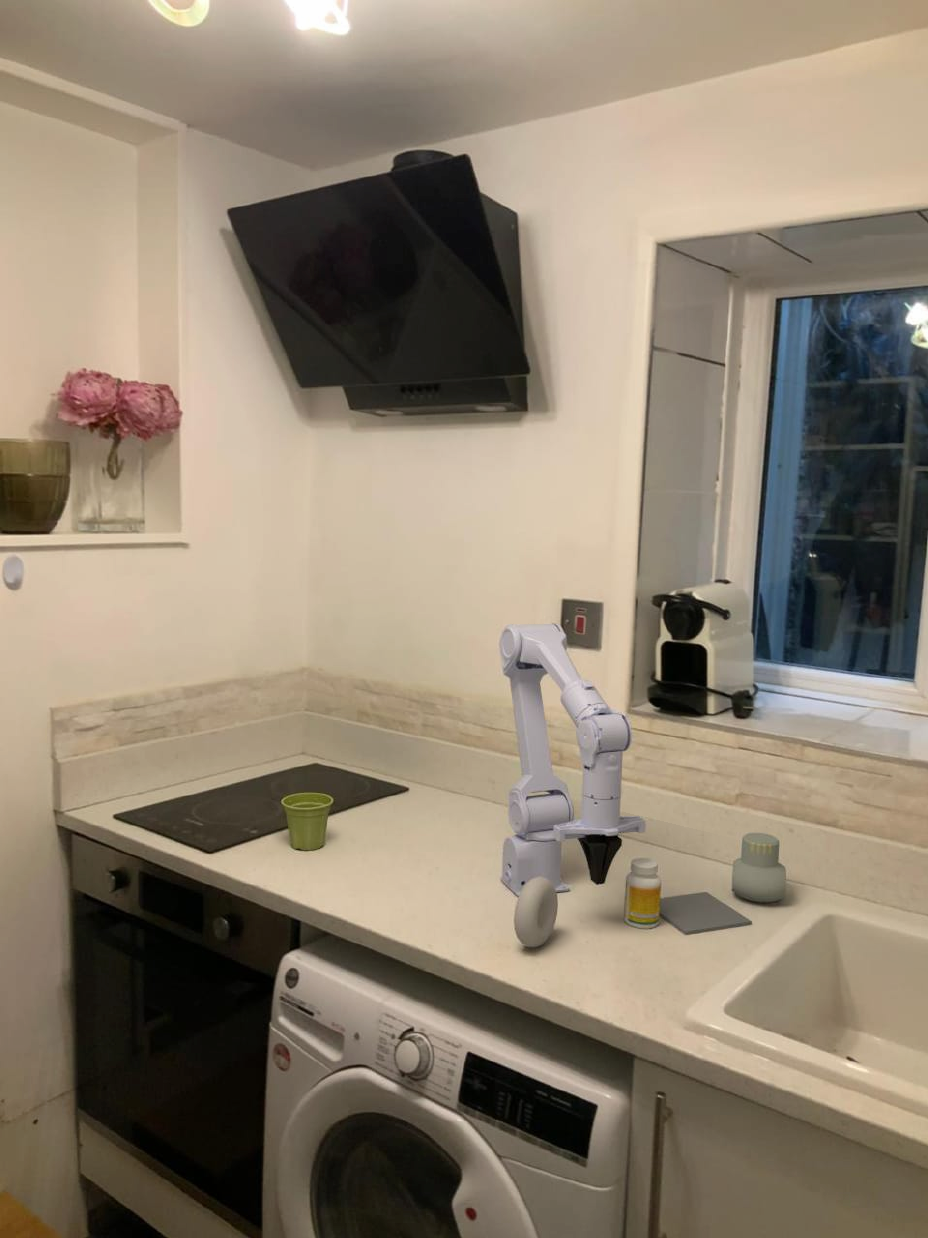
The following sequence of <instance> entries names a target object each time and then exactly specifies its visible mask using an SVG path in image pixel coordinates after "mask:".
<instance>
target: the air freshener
mask: <svg viewBox="0 0 928 1238" xmlns="http://www.w3.org/2000/svg"><path fill="white" fill-rule="evenodd" d="M741 840H742V841H741V854H740V857H738V858H736V859H734V860H733V862H732V873H731V875H732V876H731V877H732V878H731V892H733V893H734V894H736V895H737V896H739V897H740V898H742V899H745V900H747V901H750V902H754V903H764V904H765V903H773V902H777V901H780V900H782V899H784V898H785V897H786V892H787V891H786V890H787V871H786V870H787V869H786V866H785V865H783V864H782V863H780V862H779V859H780V858H779V857H780V840H779V839H778V838H777V837H776V836H774V835H772V834H768V833H766V832H765V833H764V832H763V833H762V832H747V833H745V834H744V835H743V836H742V839H741Z"/></svg>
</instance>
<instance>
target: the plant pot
mask: <svg viewBox="0 0 928 1238" xmlns="http://www.w3.org/2000/svg"><path fill="white" fill-rule="evenodd" d="M333 804H334V798H333V797H331V795H328V794H324V793H319V792H318V793H317V792H302V793H301V792H299V793H294V794H291V795H288V796H284V797H283V798H282V800H281V805H282V806H283V808H284V812H285V813H286V821H287V827H288V833H289V842H290V847H291V848H292V849H294V850H297V849H299V850H301V851H306V850H307V852H308V851H314V850H319V849H320V848H321V847H324V845H325V843H326V841H325V840H326V834H327V826H328V820H329V812H330V810H331V807H332V805H333Z"/></svg>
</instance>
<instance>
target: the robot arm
mask: <svg viewBox="0 0 928 1238" xmlns="http://www.w3.org/2000/svg"><path fill="white" fill-rule="evenodd" d="M498 643H499V644H498V646H499V654H500V662H501V667H502V672H503V673H502V674H503V675H504V676H505V677H507V678H509V684H510V691H511V697H512V699H511V700H512V706H513V707H512V708H513V714H514V722H515V730H516V737H517V738H516V739H517V745H518V752H519V760H520V761H519V762H520V767H521V775H522V776H521V778H520V779H519V780H518V781H516V783H515V784H514V785H513V786H512V787H511V788H510V790H509V791H508V798H509V805H508V809H507V810H508V811H507V814H508V821H509V825H510V827H511V829H512V831H514V833H515V834H514V835H512V836H508V837H506V838H505V839H504V841H503V845H502V867H501V869H502V870H501V873H502V874H501V876H500V878H499V880H500V881H501V882H502V883H503V884H504V885H505V886H506V887H507V888H508V889H510V890H511V892H512V893H514V895H516V896H517V897H519V895H520V892H521V891H522V889H523V887H524V885H525V884H526V883H527V882H528V881H530V880H531V879H533V878H536V877H543V878H546V879H548V880H550V881H551V882H552V884H553V885H554V887H555V889H556V893H558V892H559V893H560V892H567V891H570V890H571V887H570V886H569V885H568V884H567V883H565V882H564V881H563V880H562V879H561V873H562V872H561V869H562V849H563V848H562V846H563V845H562V844H563V843H562V842H565V841H566V840H572V839H573V840H574V839H577V840H578V842H579V845H580V846H581V848H582V851H583V853H584V857H585V860H586V863H587V868H588V872H589V878H590V881H591V882H592V883H594V884H595V885H604V884H606V881H607V880H606V879H607V876H608V873H609V870H610V867H611V865H612V862H613V860H614V858H615V857H616V854H617V853H618V851H619V850H620V848H621V847H622V845H623V844H622V843H623V839H622V838H621V837H620V836H619V834H625V833H626V834H628V833H634V832H635V833H636V832H637V833H639V834H643V833H645V832H646V820H645V819H644V818H642V817H641V816H620V815H621V800H622V799H621V798H622V797H621V796H622V779H623V778H622V776H623V775H622V773H623V757H624V756H623V755H624V754H623V753H624V752H626V751H628V750H629V748H630V746H631V743H632V737H633V736H632V735H633V734H632V733H633V732H632V726H631V724H630V721H629V720H628V718H627V716H626V714H624V713H623V712H620V711H616V709H611V708H610V706H608V704H607V703H606V701H605V699H604V697H602V695H601V694H600V692H599V690H598V689H597V687H596V686H595V685H594V684H593V682H592V681H591V680H588V679H584V678H583V679H582V678H581V676H580V674H579V672H578V670H577V669H576V667H575V664H574V662H573V661H572V659H571V657H570V655H569V654H568V653H569V652H567V649H568V648H567V647H568V638H567V635H566V633H565V631H564V629H563V627H562V626H561V625H560V624H559V623H558V622H551V623H539V624H538V623H537V624H535V623H534V624H514V623H513V624H512V623H510V624H507V625H506V626H505V627H504V628H503V630H502V633H501V637H500V639H499V642H498ZM547 674H548V675H549V677H550V678H551V679H552V680H553V682H555V684H556V685H557V686H558V688H559V689H560V690H561V694H560V699H559V700H560V703H561V705H562V706H563V708H564V710H565V712H567V714H568V716H569V717H570V719H571V721H572V722H573V724H574V725H575V727H576V728H577V730H576V741H577V746H578V748H579V759H580V763H581V764H582V784H581V785H582V787H581V788H582V791H581V808H580V810H581V811H580V813H581V815H580V818H579V819H575V807H574V803H573V800H572V799H571V797H570V792H569V788H568V785H567V783H565V782H564V781H563V780H562V779H560V778H559V777H558V776H556V775H555V774H554V773H553V768H552V759H551V752H550V751H551V750H550V745H549V739H548V731H547V723H546V715H545V709H544V702H543V701H544V700H543V694H542V687H541V682H542V680H543V678H544V676H546V675H547ZM542 792H546V794H545V793H543V794H536V795H529V794H535V793H542ZM528 795H529V796H528ZM574 819H575V820H574Z"/></svg>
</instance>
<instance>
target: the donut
mask: <svg viewBox="0 0 928 1238" xmlns="http://www.w3.org/2000/svg"><path fill="white" fill-rule="evenodd" d="M557 893H558V892H556V889H555V887H554V885H553V884H552V882H551V881H550V880H548V879H546V878H543V877H536V878H533V879H531V880H530V881H528V882H527V883H526V884H525V885H524V887H523V889H522V891H521V892H520V895H519V896H517V897H518V898H517V900H516V904H515V908H514V919H513V924H514V925H513V926H514V932H515V934H516V938H517V939H518V940H519V942H520V943H521V944H522V945H523V946H525V947H527V948H538V947H540V946H541V945H543V944H545V943H546V941H547V940H548V939H549V937H550V936H551V934H552V932H553V930H554V926H555V924H556V919H557V916H558V915H557V914H558V907H559V905H558V904H559V903H558V894H557Z"/></svg>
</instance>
